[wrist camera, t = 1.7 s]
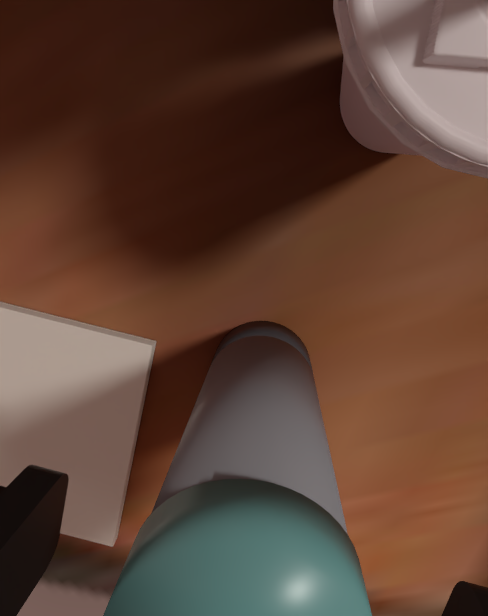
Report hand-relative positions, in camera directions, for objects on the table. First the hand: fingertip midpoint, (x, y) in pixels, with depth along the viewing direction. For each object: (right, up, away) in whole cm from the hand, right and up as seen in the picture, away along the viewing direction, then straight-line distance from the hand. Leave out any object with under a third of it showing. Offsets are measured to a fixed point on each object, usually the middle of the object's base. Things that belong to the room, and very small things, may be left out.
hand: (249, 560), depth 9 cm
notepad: (-12, +1, +11) cm, 16 cm away
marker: (+1, +3, +9) cm, 10 cm away
